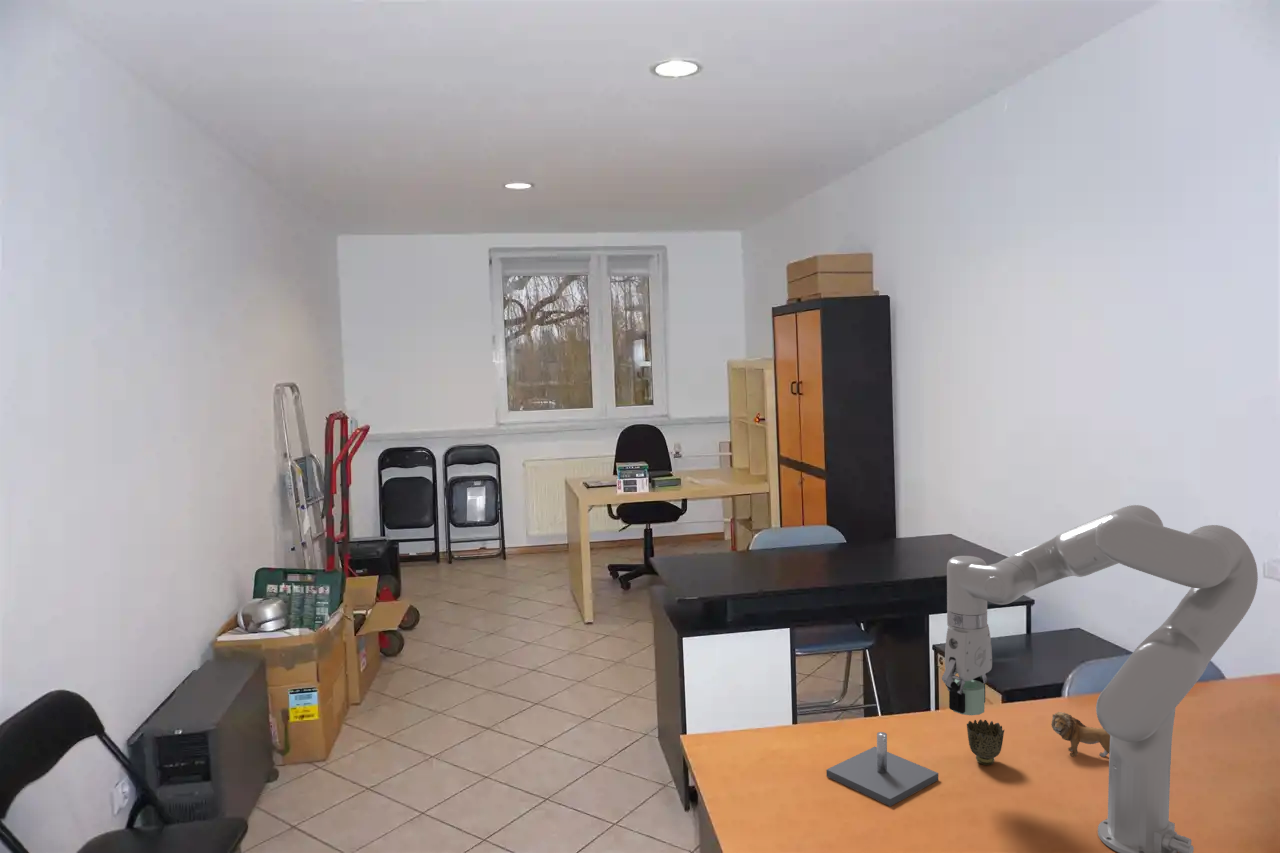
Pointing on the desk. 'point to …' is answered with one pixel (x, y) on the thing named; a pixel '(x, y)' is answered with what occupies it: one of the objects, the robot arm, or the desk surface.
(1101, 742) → the lion figurine
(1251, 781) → the desk surface
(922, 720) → the desk surface
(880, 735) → the rod
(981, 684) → the bead
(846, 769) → the board
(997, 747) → the cup
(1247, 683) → the desk surface
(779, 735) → the desk surface
